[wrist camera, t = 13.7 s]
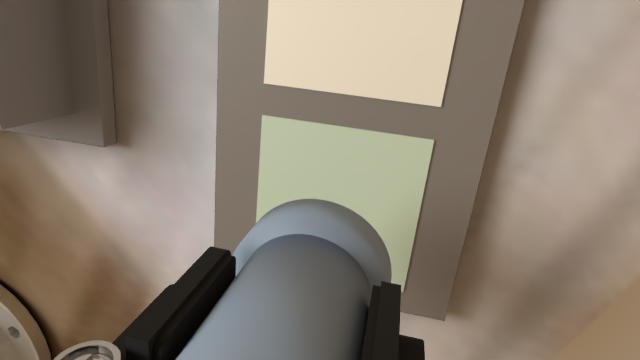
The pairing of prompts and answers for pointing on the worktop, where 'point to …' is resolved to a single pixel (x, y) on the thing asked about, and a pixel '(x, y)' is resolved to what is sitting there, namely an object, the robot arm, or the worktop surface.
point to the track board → (363, 120)
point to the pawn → (297, 288)
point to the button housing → (57, 70)
